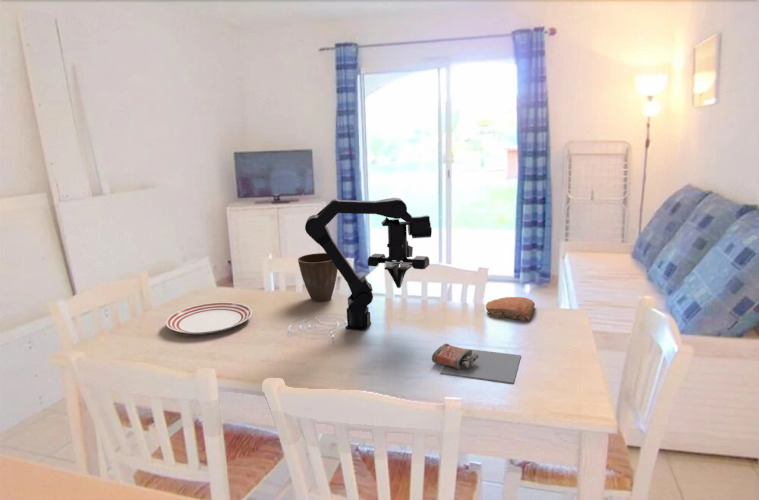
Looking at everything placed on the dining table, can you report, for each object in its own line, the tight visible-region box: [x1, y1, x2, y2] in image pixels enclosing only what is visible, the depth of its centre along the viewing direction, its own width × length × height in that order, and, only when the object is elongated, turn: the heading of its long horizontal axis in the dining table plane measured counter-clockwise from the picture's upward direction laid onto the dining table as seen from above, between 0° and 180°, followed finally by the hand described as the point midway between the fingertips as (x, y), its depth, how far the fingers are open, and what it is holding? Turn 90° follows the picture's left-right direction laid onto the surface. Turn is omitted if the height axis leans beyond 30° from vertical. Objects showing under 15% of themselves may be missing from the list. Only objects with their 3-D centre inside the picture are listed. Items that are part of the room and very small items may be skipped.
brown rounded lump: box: [485, 296, 536, 322], centre depth 169 cm, size 15×6×15 cm
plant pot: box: [297, 252, 339, 303], centre depth 189 cm, size 15×15×16 cm
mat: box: [439, 347, 522, 385], centre depth 132 cm, size 18×16×1 cm
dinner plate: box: [165, 301, 253, 335], centre depth 169 cm, size 28×27×3 cm
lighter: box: [431, 343, 479, 369], centre depth 132 cm, size 8×3×10 cm
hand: (399, 287), depth 160 cm, fingers closed
